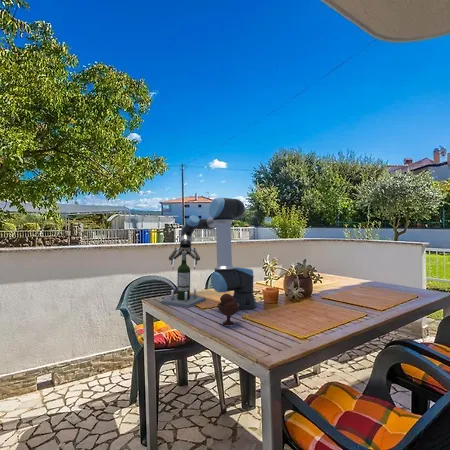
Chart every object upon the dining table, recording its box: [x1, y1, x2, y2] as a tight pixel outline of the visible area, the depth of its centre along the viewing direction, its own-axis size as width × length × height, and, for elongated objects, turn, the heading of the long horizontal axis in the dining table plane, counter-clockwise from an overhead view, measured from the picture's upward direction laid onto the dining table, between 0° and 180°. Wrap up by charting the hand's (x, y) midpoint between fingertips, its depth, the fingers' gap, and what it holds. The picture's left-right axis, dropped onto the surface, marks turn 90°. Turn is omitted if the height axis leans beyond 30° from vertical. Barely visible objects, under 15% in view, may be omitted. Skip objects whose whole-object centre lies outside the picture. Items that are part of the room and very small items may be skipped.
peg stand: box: [160, 288, 207, 309], centre depth 183 cm, size 20×20×8 cm
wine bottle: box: [176, 251, 191, 300], centre depth 184 cm, size 8×8×30 cm
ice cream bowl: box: [217, 293, 240, 326], centre depth 142 cm, size 11×11×15 cm
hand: (183, 268), depth 185 cm, fingers open, 13 cm apart
